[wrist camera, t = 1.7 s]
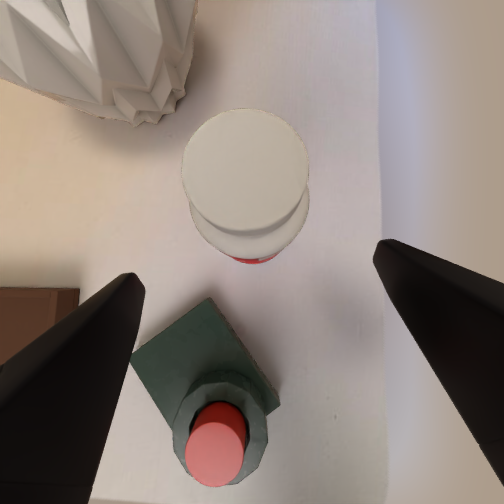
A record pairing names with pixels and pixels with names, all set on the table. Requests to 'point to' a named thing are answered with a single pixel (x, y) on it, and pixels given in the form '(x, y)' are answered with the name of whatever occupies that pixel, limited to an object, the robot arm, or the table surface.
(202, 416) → the button
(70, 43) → the vase
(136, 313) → the robot arm
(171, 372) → the block
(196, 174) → the pill bottle
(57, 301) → the brown rectangular tray
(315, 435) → the table surface
